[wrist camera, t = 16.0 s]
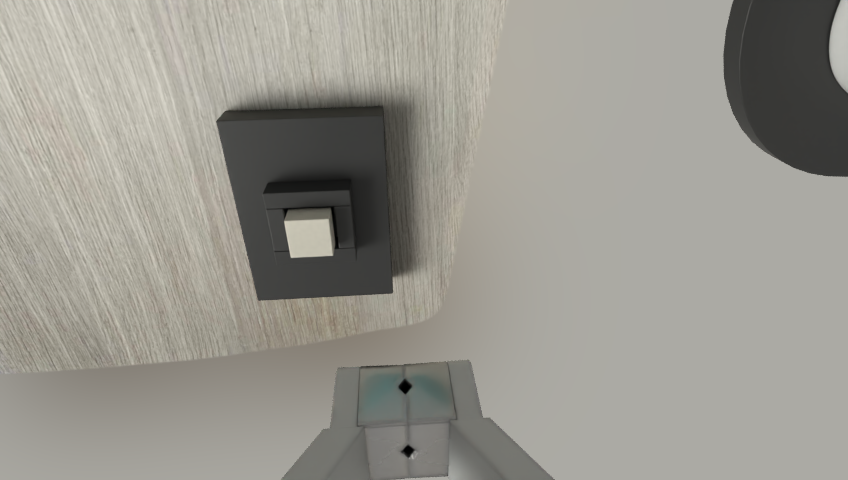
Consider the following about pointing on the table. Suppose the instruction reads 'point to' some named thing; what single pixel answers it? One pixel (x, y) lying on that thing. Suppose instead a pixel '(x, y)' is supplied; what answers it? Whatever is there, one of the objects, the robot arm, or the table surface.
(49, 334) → the table surface
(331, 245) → the push button
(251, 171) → the button base
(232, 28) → the table surface
